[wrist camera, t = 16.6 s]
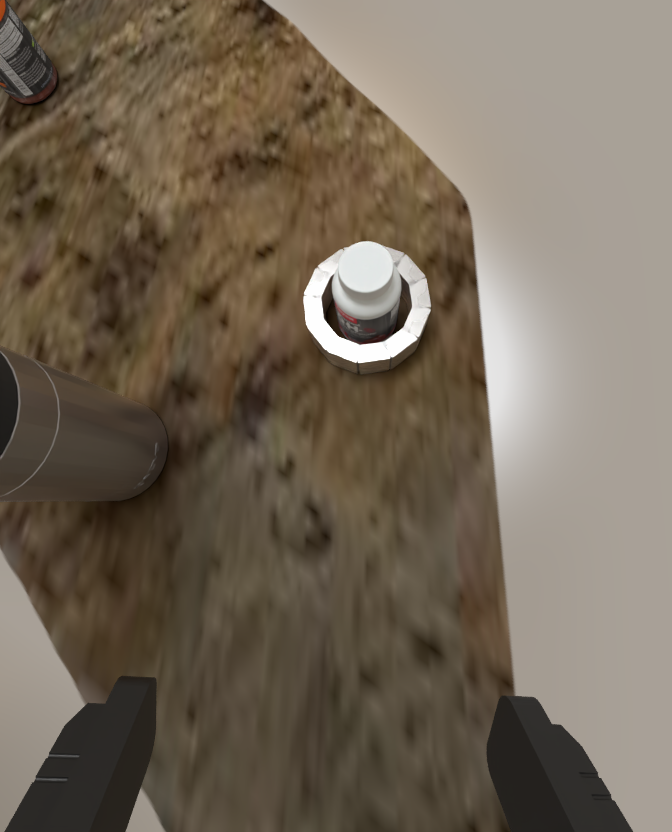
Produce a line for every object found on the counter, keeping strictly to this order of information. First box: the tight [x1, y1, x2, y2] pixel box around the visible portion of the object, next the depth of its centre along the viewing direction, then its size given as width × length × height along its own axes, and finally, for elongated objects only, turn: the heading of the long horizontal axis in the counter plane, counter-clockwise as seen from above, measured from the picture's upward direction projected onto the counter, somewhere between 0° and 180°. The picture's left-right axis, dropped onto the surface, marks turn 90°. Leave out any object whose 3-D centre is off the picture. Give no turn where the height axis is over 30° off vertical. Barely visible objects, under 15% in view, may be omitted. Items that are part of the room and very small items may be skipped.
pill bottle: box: [332, 241, 402, 345], centre depth 36 cm, size 5×5×10 cm
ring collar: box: [303, 245, 431, 375], centre depth 39 cm, size 10×10×4 cm
